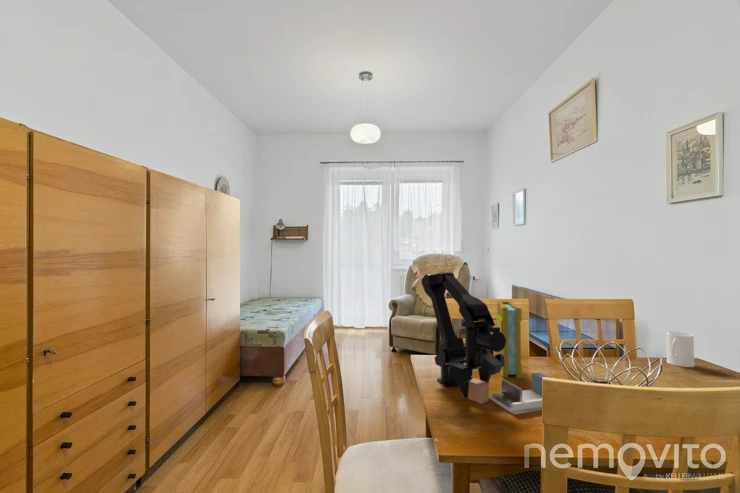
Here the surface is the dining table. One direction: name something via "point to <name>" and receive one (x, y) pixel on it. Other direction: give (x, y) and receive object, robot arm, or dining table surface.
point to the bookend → (509, 393)
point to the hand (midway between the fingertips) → (475, 393)
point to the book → (510, 337)
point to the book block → (478, 391)
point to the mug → (680, 349)
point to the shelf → (527, 397)
